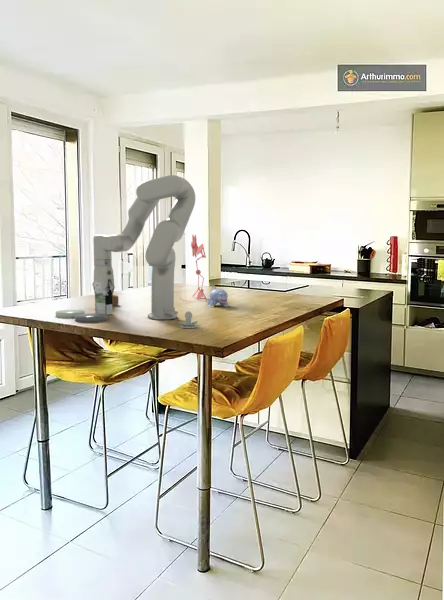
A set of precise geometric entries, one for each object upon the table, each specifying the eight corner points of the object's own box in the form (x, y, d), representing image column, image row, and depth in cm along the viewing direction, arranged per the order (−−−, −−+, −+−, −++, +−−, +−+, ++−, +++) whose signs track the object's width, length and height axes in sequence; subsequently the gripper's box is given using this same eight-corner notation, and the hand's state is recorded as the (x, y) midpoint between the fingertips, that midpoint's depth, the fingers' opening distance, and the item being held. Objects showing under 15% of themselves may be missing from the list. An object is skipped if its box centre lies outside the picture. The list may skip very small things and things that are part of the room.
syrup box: (113, 313, 235) (112, 280, 233) (106, 315, 230) (105, 282, 228) (101, 312, 237) (100, 280, 235) (94, 314, 231) (93, 281, 229)
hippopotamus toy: (213, 309, 256) (213, 289, 255) (204, 304, 270) (204, 286, 269) (234, 308, 260) (234, 289, 258) (223, 304, 274) (224, 285, 272)
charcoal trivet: (113, 321, 219) (113, 316, 219) (85, 324, 210) (85, 319, 210) (96, 316, 229) (96, 312, 228) (69, 319, 220) (69, 315, 219)
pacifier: (198, 329, 206) (196, 325, 212) (198, 313, 205) (197, 310, 211) (179, 329, 205) (178, 326, 210) (180, 313, 204) (178, 310, 209)
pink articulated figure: (202, 295, 303) (202, 233, 298) (211, 302, 278) (210, 235, 273) (175, 296, 300) (174, 234, 295) (182, 303, 275) (181, 235, 270)
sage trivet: (89, 316, 228) (89, 312, 228) (64, 319, 220) (63, 315, 219) (76, 313, 237) (76, 308, 236) (50, 315, 228) (50, 311, 228)
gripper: (121, 264, 227) (122, 304, 229) (99, 261, 239) (100, 300, 241) (106, 264, 222) (106, 306, 224) (84, 262, 234) (85, 302, 236)
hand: (103, 303), depth 233 cm, fingers closed on syrup box, 7 cm apart
